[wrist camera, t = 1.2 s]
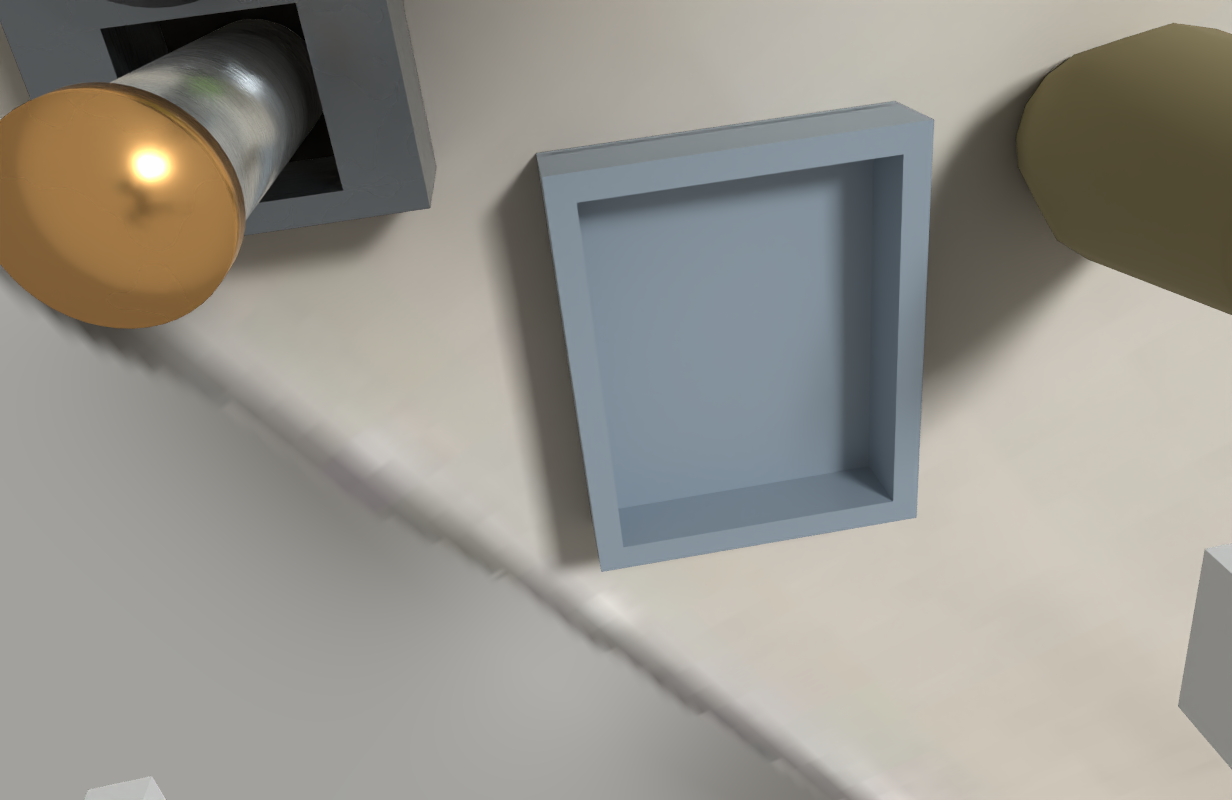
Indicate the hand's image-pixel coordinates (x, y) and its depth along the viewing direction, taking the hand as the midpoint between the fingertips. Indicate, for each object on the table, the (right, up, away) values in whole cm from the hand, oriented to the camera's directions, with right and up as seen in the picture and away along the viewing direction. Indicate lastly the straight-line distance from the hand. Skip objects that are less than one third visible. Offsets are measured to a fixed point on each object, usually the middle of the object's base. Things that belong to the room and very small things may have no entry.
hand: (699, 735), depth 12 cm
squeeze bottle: (+17, +14, +24) cm, 32 cm away
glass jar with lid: (-13, +15, +19) cm, 27 cm away
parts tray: (+3, +7, +26) cm, 27 cm away
